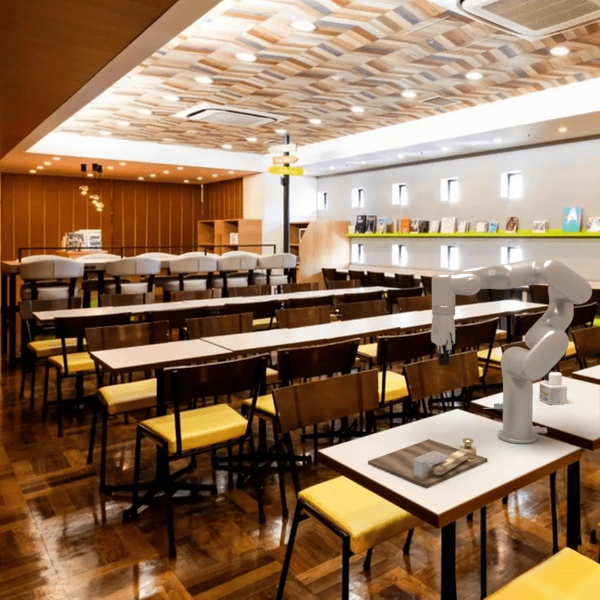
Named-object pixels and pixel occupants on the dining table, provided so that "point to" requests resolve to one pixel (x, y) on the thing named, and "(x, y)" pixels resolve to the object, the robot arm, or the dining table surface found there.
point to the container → (553, 388)
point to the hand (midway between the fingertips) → (443, 364)
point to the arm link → (454, 459)
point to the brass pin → (468, 445)
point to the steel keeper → (427, 463)
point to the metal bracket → (496, 406)
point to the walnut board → (404, 458)
